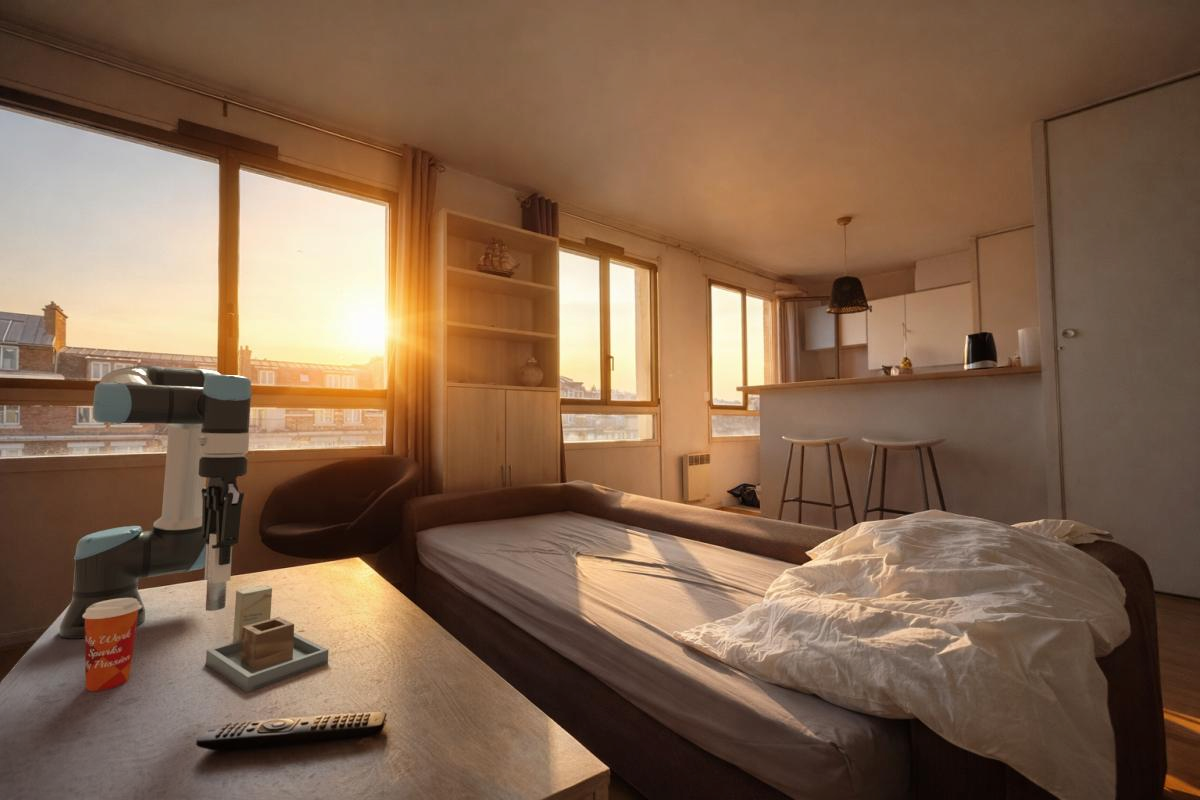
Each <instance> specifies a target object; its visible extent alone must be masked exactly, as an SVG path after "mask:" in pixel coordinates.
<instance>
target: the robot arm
mask: <svg viewBox="0 0 1200 800" xmlns="http://www.w3.org/2000/svg"><path fill="white" fill-rule="evenodd" d="M93 391H94V393H93V404H92V410H93V411H92V418H93V420H94V421H95V422H97V423H104V424H108V423H109V424H115V425H121V424H165V425H167V426H168V431H167V432H168V434H167V445H166V459H165V468H164V469H165V471H164V482H163V484H164V485H163V496H162V509H161V516H160V517H159V518H158V519H156V520H155V521H154V522H153V525H152V530H145V531H143V528H142V527H141V525H130V526H121V527H113V528H108V529H105V530H100V531H97V532H93V533H90V534H87V535H85V536H83V537H82V538H80V539H79V540H78V542H77V544H76V549H75V555H74V556H73V560H74V561H75V562H74V573H73V584H72V586H73V588H72V599H71V601H70V603H69V605H68V608H67V610H66V612H65V614H64V615H63V616H64V617H63V618H62V620H61V622H60V626H59V633H58V634H59V636H60V637H61V638H64V639H85V618H83V617H82V616H83V614H84V613H85V612H86V609H87V608H88V607H90V606H91V605H92V604H95V603H98V602H102V601H106V600H111V599H118V598H135V599H137V601H138V602H140V605H141V606H142V608H141V609H139V610H138V617H137V625H136V627H137V626H138V625H140V624H142V623H144V622H145V621H146V608H145V605H144V604H143V600H142V597H141V595H140V593H139V589H138V588H139V579H143V578H144V579H145V578H152V577H158V576H159V577H160V576H166V575H174V574H179V573H188V572H191V571H197V570H202V569H204V581H207V575H208V557H209V539H210V533H214V532H216V545H212V549H214V554H213V572H212V583H213V584H215V583H220V582H225V581H227V582H229V581H231V575H232V558H233V557H232V555H233V546H234V545H235V544H238V543H239V537H240V536H239V535H240V526H241V524H240V523H241V514H242V504H243V499H244V497H245V496H244V495H245V493H244V491H239V486H238V484H237V483H238V482H237V477H244V476H245V475H247V473H248V462H249V461H248V460H249V458H248V457H247V456H245V454H248V453H249V444H250V433H249V431H250V418H251V417H250V416H251V415H250V413H251V401H252V400H251V399H252V397H253V393H252V382H251V379H250V378H249V377H248V376H247V377H246V376H241V375H231V374H221V373H220V372H218V371H215V370H211V369H210V370H209V369H202V368H189V367H188V368H187V367H172V366H170V367H169V366H156V365H134V366H128V367H122V368H119V369H115V370H112V371H110V372H108V373H106V374H105V375H104V376H103V377H102V378H101V379H100V381H99V382H98V383H96V384H95V386H94V390H93ZM207 478H209V481H208V485H207V486H206V484H207V482H206V481H207Z"/></svg>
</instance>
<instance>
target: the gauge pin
mask: <svg viewBox="0 0 1200 800" xmlns="http://www.w3.org/2000/svg"><path fill="white" fill-rule="evenodd" d="M212 545H216V532H214V533H210V539H209V557H208V575H207V580H206V593H205V594H206V596H205V599H206V600H205V611H208V612H214V611H219V610H222V609H224V608H226V599H227V598H226V597H227V585H228V583H227V582H228V581H225V582H220V583H215V584H213V583H212V572H213V554H214V549H212Z"/></svg>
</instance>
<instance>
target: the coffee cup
mask: <svg viewBox="0 0 1200 800" xmlns="http://www.w3.org/2000/svg"><path fill="white" fill-rule="evenodd" d="M141 608H142V606H141V605H140V602H138V601H137V599H135V598H118V599H111V600H106V601H102V602H98V603H95V604H92V605H91V606H90V607H88V608H87V609H86V612H85V613H84V614H83V616H82V617H83V618H85V638H84V655H85V657H84V658H85V659H84V660H85V661H84V664H85V666H84V667H85V669H84V670H85V688H86V691H89V692H99V691H101V692H102V691H105V690H110V689H114V688H116V687H119V686H121V685H124V684H125V683H126V682H128V681H129V678H130V674H131V673H130V672H131V668H132V660H133V653H134V648H135V647H134V646H135V639H136V632H137V626H138V625H137V617H138V610H139V609H141ZM136 625H137V626H136Z"/></svg>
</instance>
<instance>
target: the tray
mask: <svg viewBox="0 0 1200 800" xmlns="http://www.w3.org/2000/svg"><path fill="white" fill-rule="evenodd" d="M241 647H242V640H239V641H236V642H233V641H231V642H230V643H226V644H222V645H219V646H215V647H212V648H209V649H206V650H205V651H206V654H205V664H206V666H209V667H210V668H211V669H213V670H214V671H215V672H217V673H218V674H219V675H221V676H223V677H224V678H226V679H227V680H228V681H229V682H231V683H233V684H234V685H236V686H237V687H238V688H239V689H241V690H243V691H244V692H246V693H247V694H248V693H250V692H253V691H256V690H258V689H261V688H263V687H266V686H270V685H272V684H274V683H278V682H281V681H283V680H286V679H289V678H291V677H295V676H297V675H299V674H303V673H305V672H308V671H310V670H311V671H312V670H313V669H315V668H318V667H321V666H325V665H327V664H329V649H328V648H326V647H324V646H322V645H320V644H318V643H316V642H314V641H311V640H309V639H307V637H304V636H302V635H299V634H297V633H296V632H294V641H293V658H291V659H288V660H285V661H282V662H279V663H276V664H273V665H270V666H267V667H264V668H261V669H258V670H254V669H253V668H251V667H249V666H248V665H246V664H245V663H243V662H241Z"/></svg>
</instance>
